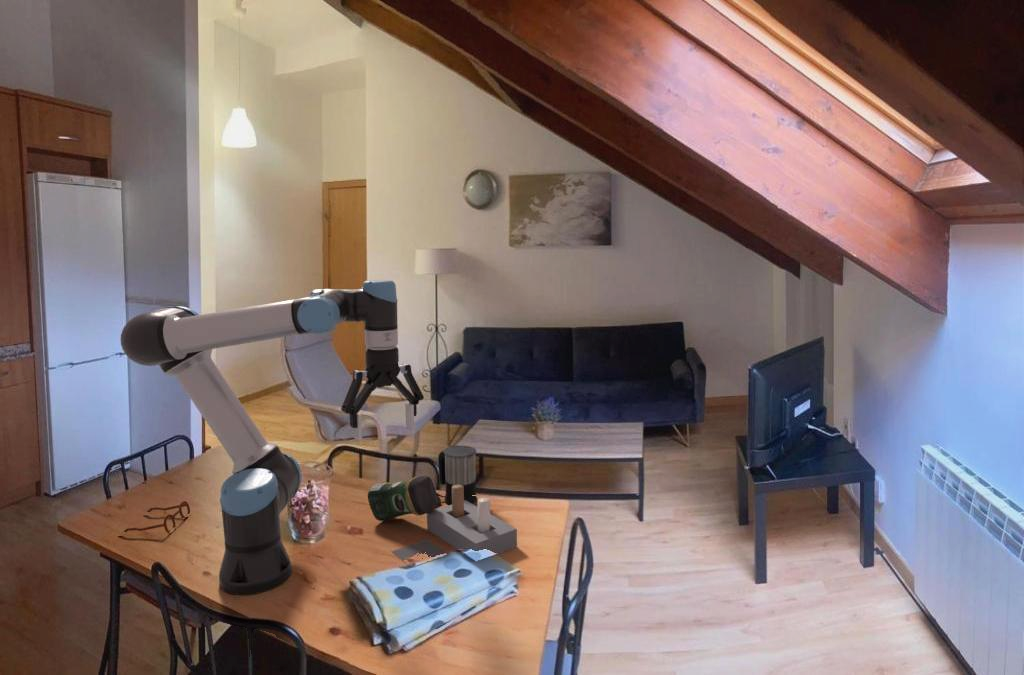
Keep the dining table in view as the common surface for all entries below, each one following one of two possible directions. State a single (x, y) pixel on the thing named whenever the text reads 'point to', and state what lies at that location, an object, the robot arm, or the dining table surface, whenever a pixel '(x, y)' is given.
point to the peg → (483, 515)
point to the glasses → (165, 517)
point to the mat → (418, 550)
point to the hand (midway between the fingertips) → (384, 435)
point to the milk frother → (458, 472)
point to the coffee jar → (403, 498)
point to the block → (469, 526)
